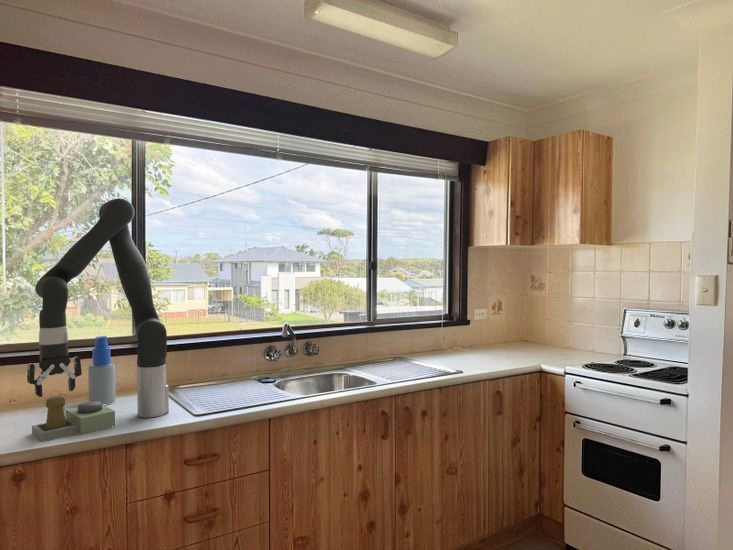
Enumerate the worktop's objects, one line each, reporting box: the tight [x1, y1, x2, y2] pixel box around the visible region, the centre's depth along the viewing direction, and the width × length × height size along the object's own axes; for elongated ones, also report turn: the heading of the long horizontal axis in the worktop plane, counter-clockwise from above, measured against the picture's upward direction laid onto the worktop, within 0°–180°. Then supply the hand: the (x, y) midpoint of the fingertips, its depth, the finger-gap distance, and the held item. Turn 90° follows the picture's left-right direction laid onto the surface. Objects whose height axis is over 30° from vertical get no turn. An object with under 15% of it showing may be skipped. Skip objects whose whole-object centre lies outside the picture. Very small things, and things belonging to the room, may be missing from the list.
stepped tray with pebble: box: [31, 401, 116, 442], centre depth 158 cm, size 20×14×7 cm
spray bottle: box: [87, 335, 117, 406], centre depth 188 cm, size 9×9×25 cm
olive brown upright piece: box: [45, 395, 67, 431], centre depth 155 cm, size 6×6×11 cm
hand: (55, 393), depth 154 cm, fingers open, 8 cm apart
